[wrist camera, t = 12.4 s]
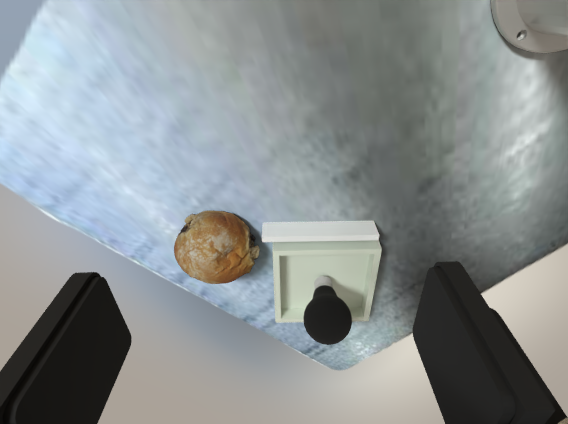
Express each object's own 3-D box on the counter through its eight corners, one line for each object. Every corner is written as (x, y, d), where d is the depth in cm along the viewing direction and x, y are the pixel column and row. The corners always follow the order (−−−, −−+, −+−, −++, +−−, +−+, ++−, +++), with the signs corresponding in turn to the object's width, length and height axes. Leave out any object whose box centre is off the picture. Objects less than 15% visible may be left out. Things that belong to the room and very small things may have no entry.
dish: (377, 236, 44) (381, 249, 42) (364, 307, 52) (368, 321, 50) (273, 238, 44) (272, 250, 42) (275, 309, 52) (275, 322, 50)
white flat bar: (373, 220, 43) (379, 235, 40) (372, 225, 43) (378, 240, 41) (262, 222, 43) (261, 236, 40) (263, 227, 43) (262, 242, 41)
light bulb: (320, 299, 50) (327, 361, 41) (292, 277, 47) (293, 338, 39) (352, 278, 47) (366, 339, 39) (324, 255, 45) (332, 314, 37)
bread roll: (218, 186, 44) (179, 203, 37) (278, 236, 43) (251, 264, 36) (188, 237, 49) (149, 262, 42) (242, 283, 48) (211, 316, 41)
